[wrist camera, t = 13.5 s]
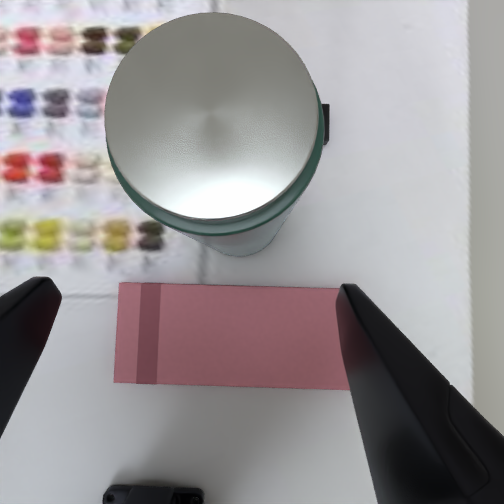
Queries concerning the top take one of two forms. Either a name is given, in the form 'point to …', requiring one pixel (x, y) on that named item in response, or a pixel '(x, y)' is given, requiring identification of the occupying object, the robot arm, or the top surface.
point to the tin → (215, 129)
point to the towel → (228, 336)
